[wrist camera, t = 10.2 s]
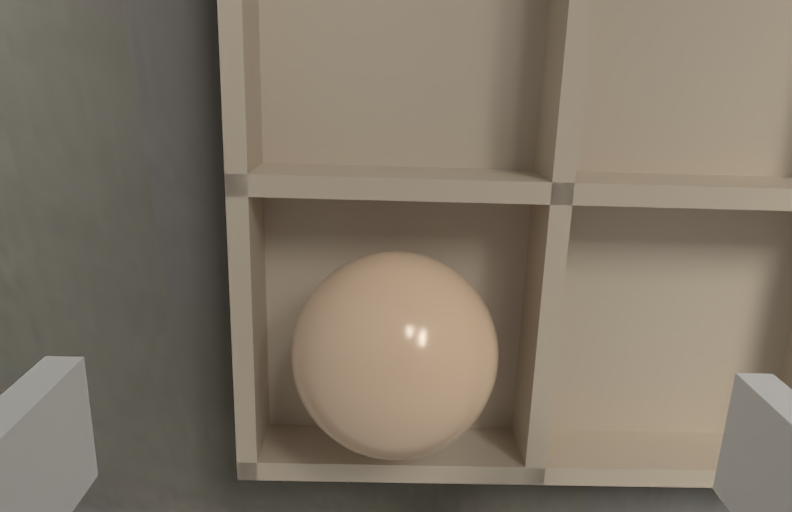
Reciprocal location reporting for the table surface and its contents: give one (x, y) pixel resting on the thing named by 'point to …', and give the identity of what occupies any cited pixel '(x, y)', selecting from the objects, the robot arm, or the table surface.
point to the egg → (394, 355)
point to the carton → (519, 217)
